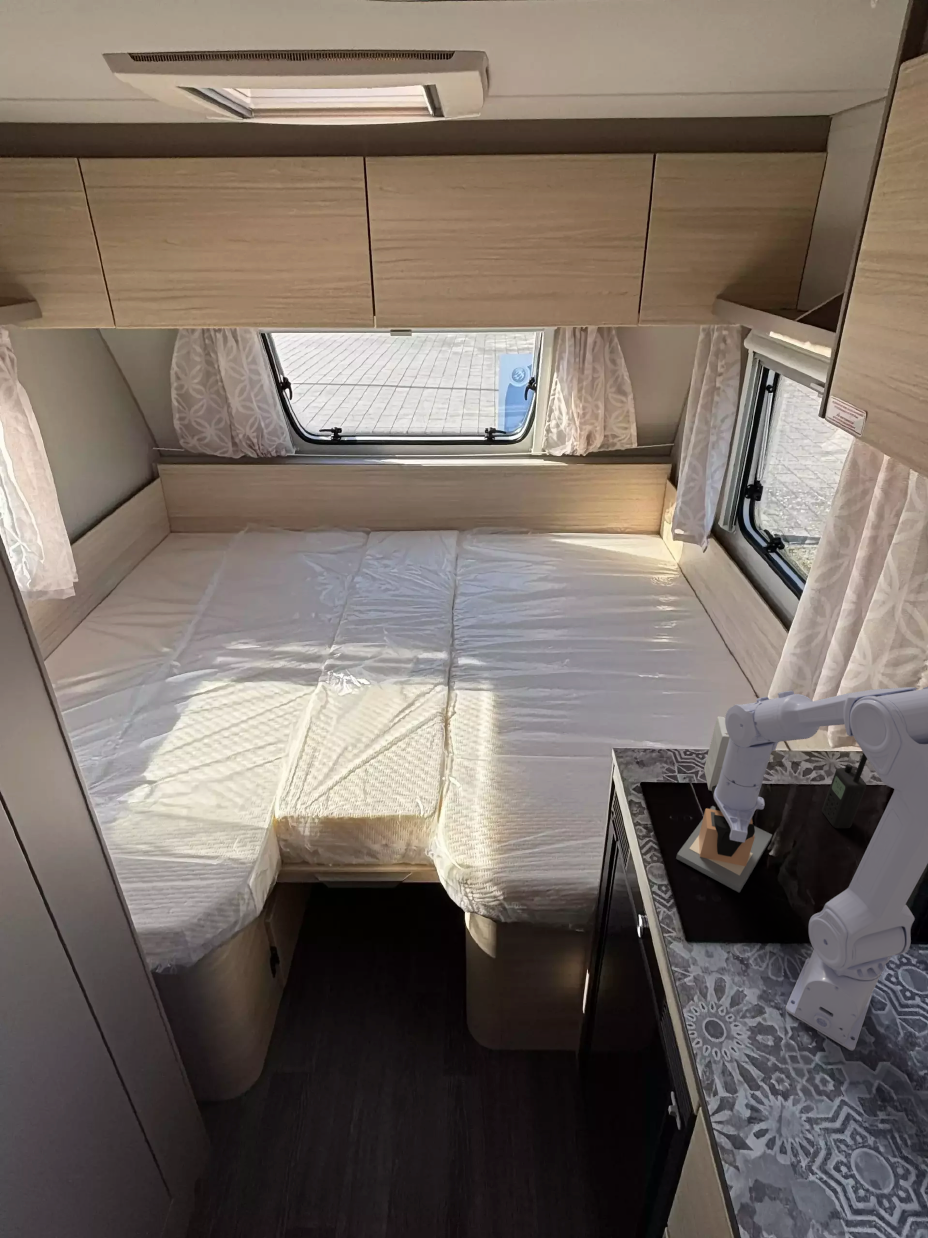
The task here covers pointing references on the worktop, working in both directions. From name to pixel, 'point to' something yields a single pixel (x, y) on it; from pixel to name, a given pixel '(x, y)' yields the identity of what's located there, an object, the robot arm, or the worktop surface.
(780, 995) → the worktop surface
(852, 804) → the walkie-talkie
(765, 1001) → the worktop surface
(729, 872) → the board
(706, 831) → the plug housing
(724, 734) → the skincare box
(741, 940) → the worktop surface
